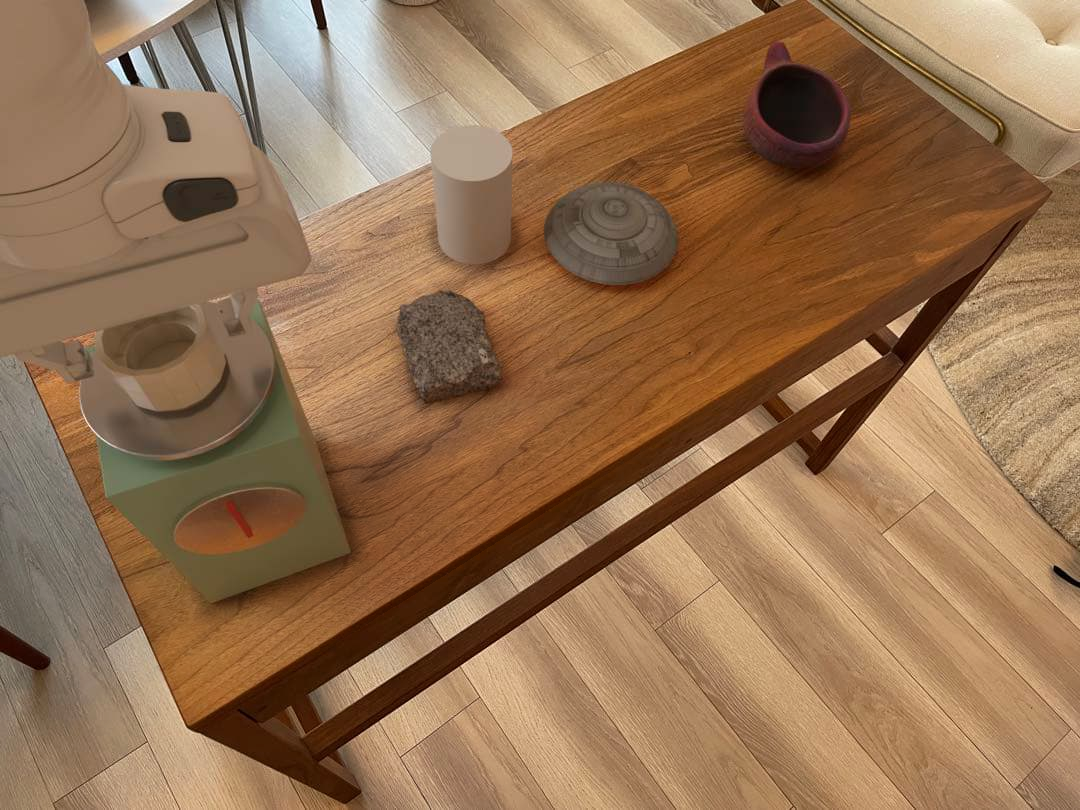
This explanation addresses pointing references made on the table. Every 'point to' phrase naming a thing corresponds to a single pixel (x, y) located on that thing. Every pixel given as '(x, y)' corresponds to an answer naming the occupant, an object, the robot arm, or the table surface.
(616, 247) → the flying saucer
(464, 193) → the taupe round pillar
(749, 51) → the table surface
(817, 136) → the bowl
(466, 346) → the stone
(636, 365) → the table surface
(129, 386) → the small bowl
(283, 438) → the scale
